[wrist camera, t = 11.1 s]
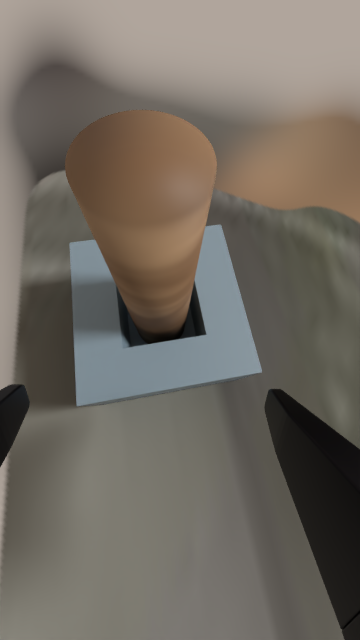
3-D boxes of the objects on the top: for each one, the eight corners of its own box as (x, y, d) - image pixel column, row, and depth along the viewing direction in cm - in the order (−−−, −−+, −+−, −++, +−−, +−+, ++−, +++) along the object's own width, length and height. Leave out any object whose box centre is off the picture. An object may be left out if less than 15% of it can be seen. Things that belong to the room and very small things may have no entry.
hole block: (237, 379, 18) (262, 372, 13) (102, 404, 17) (76, 406, 12) (209, 264, 21) (220, 224, 16) (93, 279, 20) (69, 242, 15)
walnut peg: (166, 357, 17) (157, 250, 5) (126, 329, 18) (31, 170, 6) (194, 318, 18) (244, 150, 6) (156, 293, 19) (130, 92, 7)
